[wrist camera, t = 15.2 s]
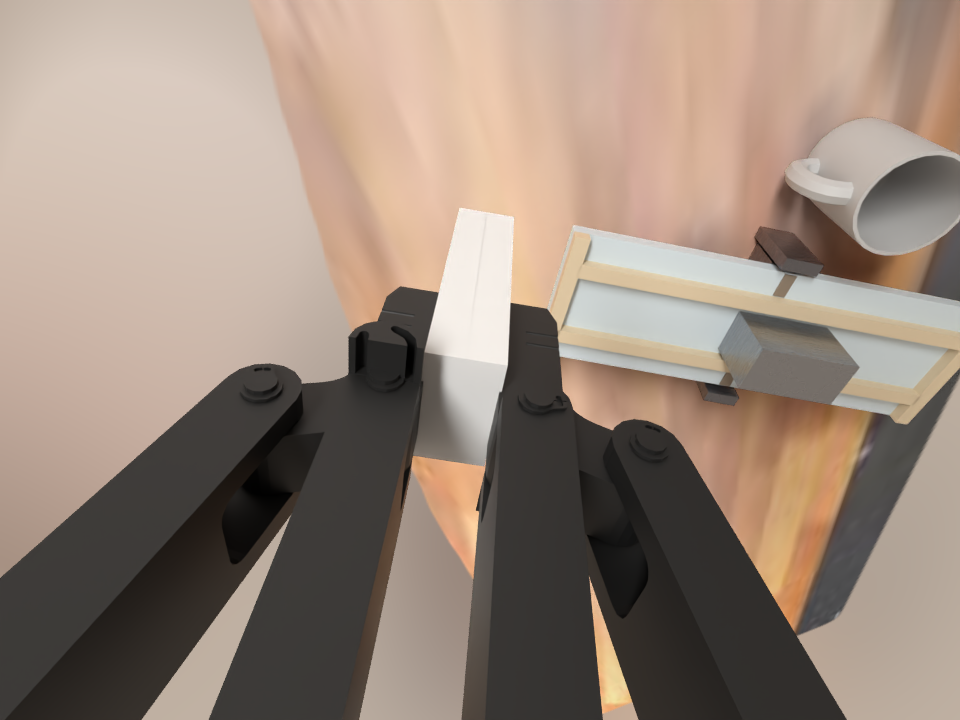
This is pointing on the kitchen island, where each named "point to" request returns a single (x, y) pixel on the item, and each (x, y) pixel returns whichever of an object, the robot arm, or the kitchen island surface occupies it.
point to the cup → (881, 185)
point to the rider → (786, 358)
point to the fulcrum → (788, 257)
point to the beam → (753, 289)
